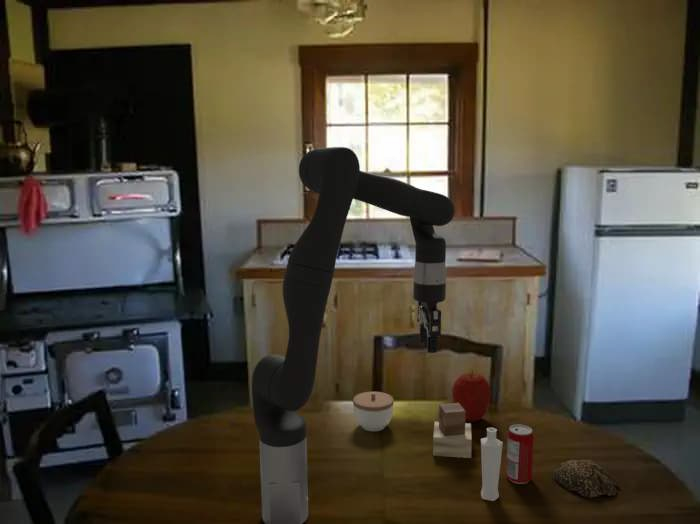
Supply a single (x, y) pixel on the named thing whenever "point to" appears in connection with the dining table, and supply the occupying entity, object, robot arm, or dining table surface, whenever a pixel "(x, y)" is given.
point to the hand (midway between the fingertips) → (428, 347)
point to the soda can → (519, 454)
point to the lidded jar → (373, 410)
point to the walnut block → (452, 419)
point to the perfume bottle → (490, 464)
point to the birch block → (452, 443)
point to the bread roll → (585, 478)
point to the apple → (472, 395)
